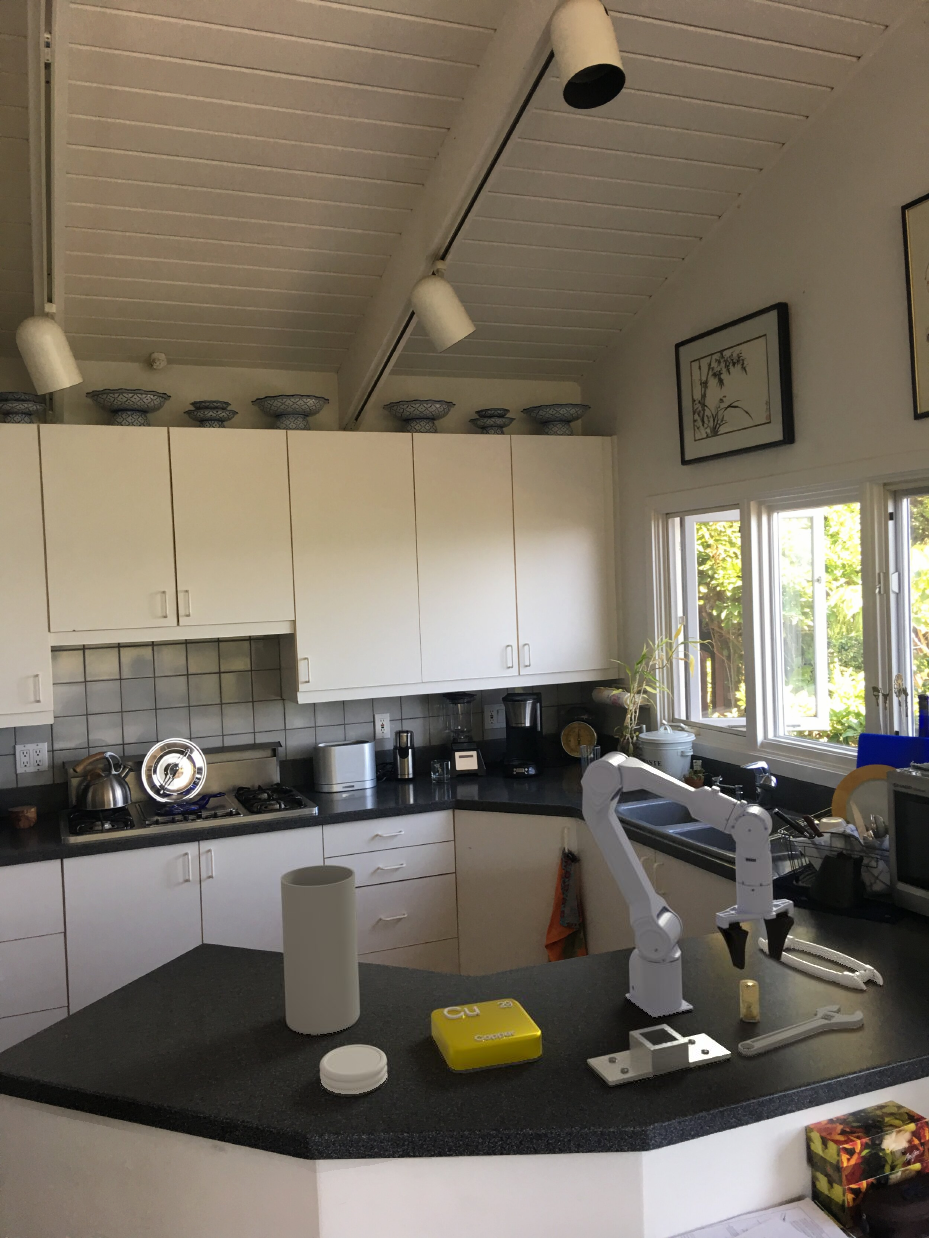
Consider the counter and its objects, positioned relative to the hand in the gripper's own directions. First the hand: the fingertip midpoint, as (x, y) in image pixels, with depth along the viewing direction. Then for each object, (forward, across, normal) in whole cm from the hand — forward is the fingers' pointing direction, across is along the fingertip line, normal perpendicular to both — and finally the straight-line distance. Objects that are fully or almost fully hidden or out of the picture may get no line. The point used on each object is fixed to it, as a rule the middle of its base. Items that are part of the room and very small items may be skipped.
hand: (757, 962), depth 156 cm
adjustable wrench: (+10, +3, -6) cm, 12 cm away
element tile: (+10, -44, +13) cm, 47 cm away
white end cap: (+10, -66, +12) cm, 68 cm away
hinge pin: (+10, -1, +1) cm, 10 cm away
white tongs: (+10, +25, +13) cm, 30 cm away
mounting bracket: (+10, -23, -4) cm, 25 cm away
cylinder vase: (+9, -65, +34) cm, 74 cm away
